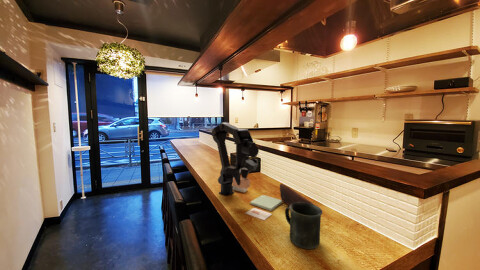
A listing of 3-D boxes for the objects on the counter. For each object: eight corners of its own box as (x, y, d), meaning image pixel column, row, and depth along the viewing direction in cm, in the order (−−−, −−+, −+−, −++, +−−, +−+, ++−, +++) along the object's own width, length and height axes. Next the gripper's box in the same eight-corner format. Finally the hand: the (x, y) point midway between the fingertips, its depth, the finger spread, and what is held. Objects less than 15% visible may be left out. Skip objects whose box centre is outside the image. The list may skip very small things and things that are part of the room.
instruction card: (245, 213, 91) (245, 212, 91) (253, 208, 97) (254, 207, 97) (264, 220, 85) (264, 219, 85) (272, 214, 91) (272, 213, 91)
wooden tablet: (318, 224, 83) (319, 201, 82) (313, 225, 82) (314, 202, 81) (282, 199, 107) (282, 181, 106) (278, 200, 107) (279, 182, 106)
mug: (307, 255, 64) (309, 219, 63) (275, 233, 76) (276, 203, 75) (327, 243, 70) (329, 210, 69) (294, 225, 82) (295, 196, 81)
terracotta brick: (232, 185, 102) (232, 177, 102) (237, 183, 106) (237, 176, 105) (245, 188, 98) (245, 180, 97) (250, 186, 101) (250, 179, 100)
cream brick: (232, 190, 121) (232, 183, 121) (236, 188, 124) (236, 182, 124) (244, 192, 117) (244, 186, 117) (247, 190, 120) (247, 184, 120)
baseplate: (250, 204, 101) (250, 201, 101) (262, 196, 111) (262, 194, 111) (270, 211, 94) (271, 208, 94) (282, 202, 103) (282, 200, 103)
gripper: (242, 158, 88) (242, 193, 89) (265, 153, 102) (264, 182, 104) (224, 155, 95) (224, 187, 96) (247, 151, 109) (247, 178, 111)
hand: (241, 184), depth 102 cm, fingers closed on terracotta brick, 4 cm apart
